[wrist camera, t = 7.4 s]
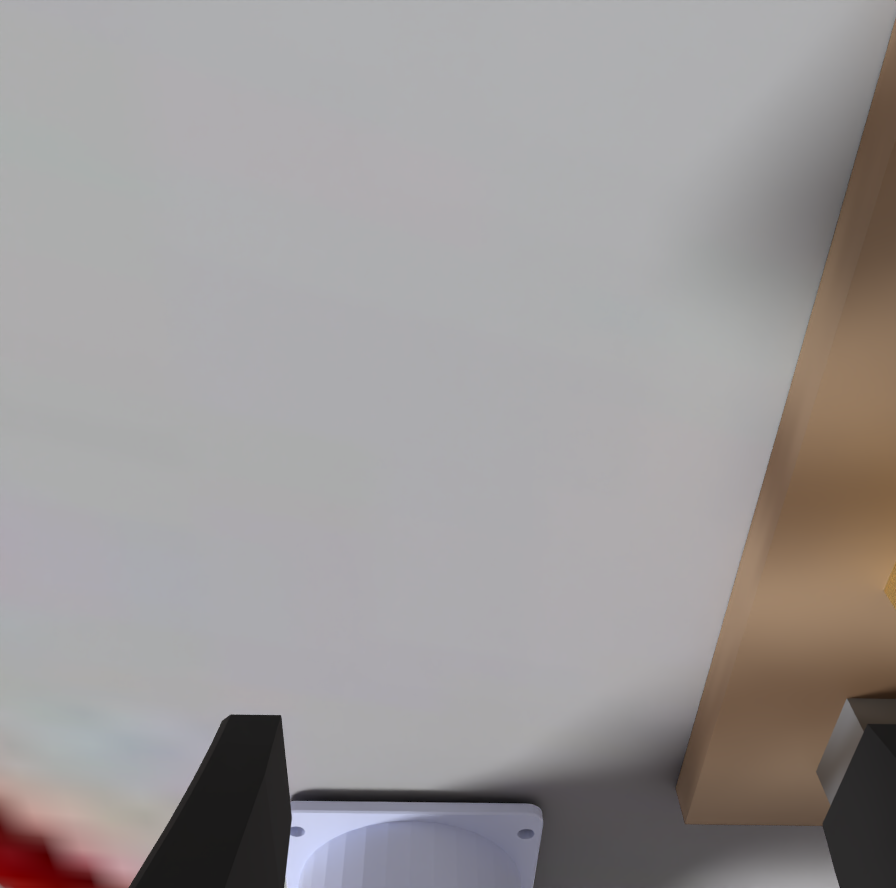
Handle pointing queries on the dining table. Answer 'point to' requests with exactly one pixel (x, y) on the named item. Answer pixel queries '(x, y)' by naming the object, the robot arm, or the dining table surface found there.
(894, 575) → the block
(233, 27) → the dining table surface
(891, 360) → the shaft stand
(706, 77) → the dining table surface
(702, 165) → the dining table surface
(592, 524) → the dining table surface
